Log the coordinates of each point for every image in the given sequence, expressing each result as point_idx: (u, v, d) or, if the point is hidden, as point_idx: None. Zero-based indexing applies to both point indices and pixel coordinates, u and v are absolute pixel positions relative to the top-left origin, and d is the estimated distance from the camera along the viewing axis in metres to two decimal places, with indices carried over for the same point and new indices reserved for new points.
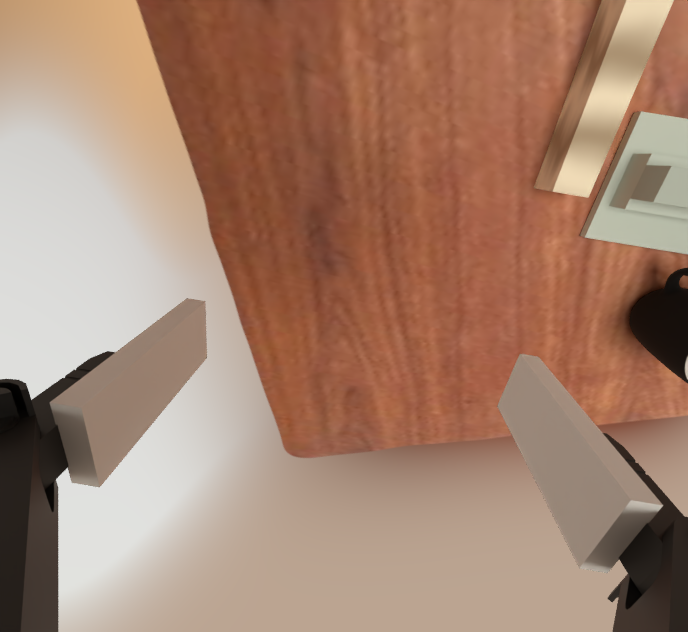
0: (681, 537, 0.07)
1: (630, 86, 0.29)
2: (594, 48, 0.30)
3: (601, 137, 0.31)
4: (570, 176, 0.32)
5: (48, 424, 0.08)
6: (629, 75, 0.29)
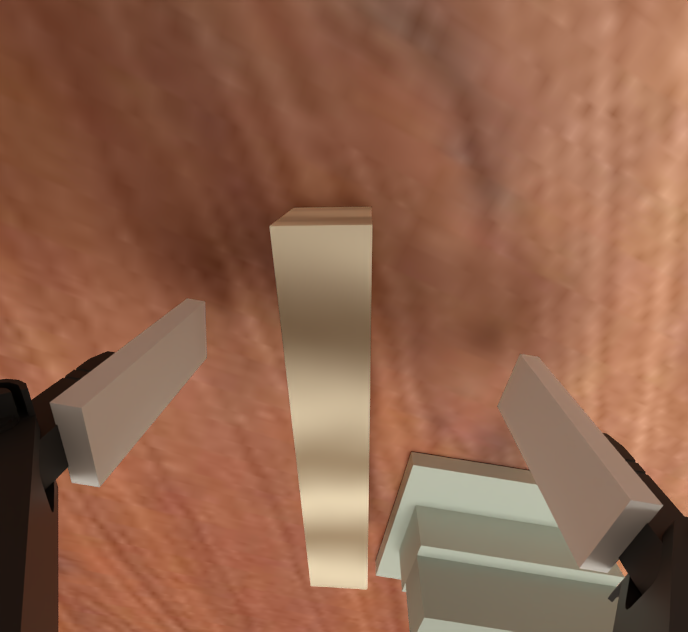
0: (681, 537, 0.07)
1: (359, 489, 0.17)
2: None
3: (348, 537, 0.19)
4: (327, 572, 0.20)
5: (48, 424, 0.08)
6: (349, 478, 0.17)
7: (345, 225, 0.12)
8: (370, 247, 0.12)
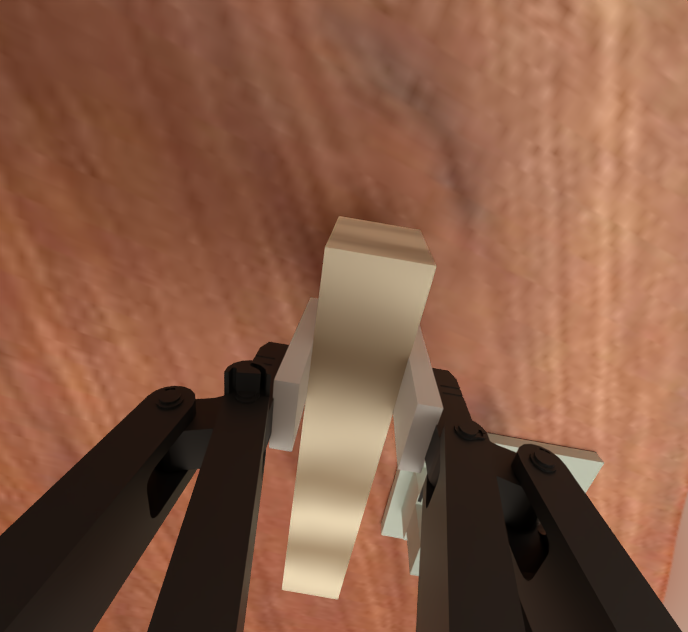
0: (449, 436, 0.09)
1: (353, 512, 0.17)
2: None
3: (330, 553, 0.19)
4: (302, 580, 0.20)
5: None
6: (346, 501, 0.16)
7: (407, 261, 0.11)
8: (428, 288, 0.11)
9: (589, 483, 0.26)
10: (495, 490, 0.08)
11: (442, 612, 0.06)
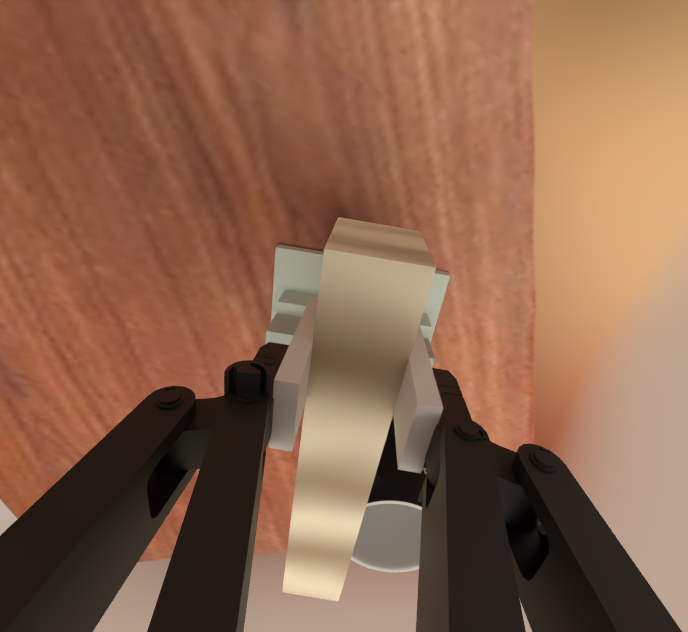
0: (449, 436, 0.09)
1: (353, 514, 0.17)
2: None
3: (331, 555, 0.19)
4: (302, 582, 0.20)
5: None
6: (346, 503, 0.16)
7: (407, 262, 0.11)
8: (428, 289, 0.11)
9: (441, 300, 0.28)
10: (495, 490, 0.08)
11: (442, 612, 0.06)
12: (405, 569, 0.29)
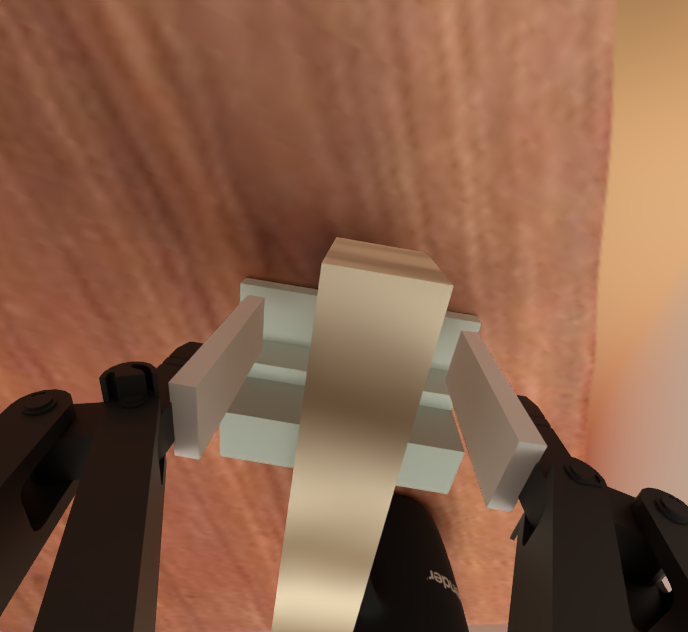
0: (559, 474, 0.08)
1: (352, 590, 0.14)
2: None
3: None
4: None
5: (164, 402, 0.09)
6: (344, 576, 0.13)
7: (419, 279, 0.09)
8: (443, 312, 0.09)
9: None
10: (613, 545, 0.07)
11: None
12: None
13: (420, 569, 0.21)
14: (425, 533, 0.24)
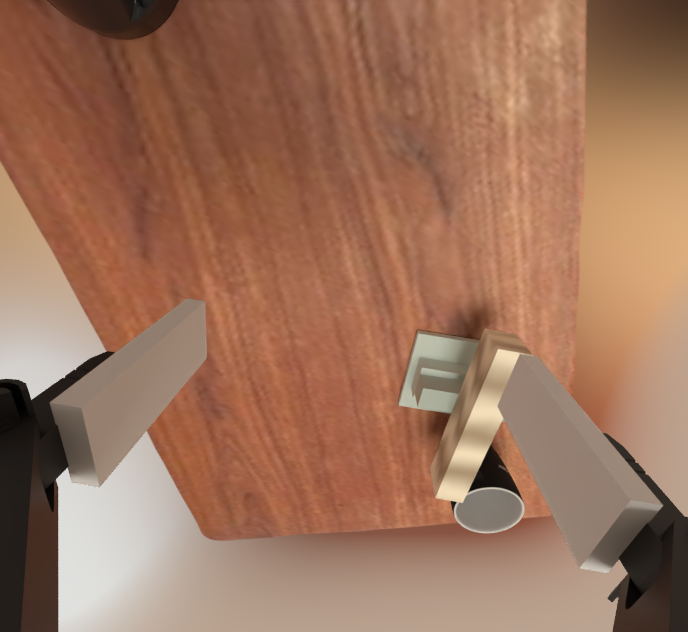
0: (681, 537, 0.07)
1: (483, 450, 0.39)
2: (460, 413, 0.40)
3: (466, 473, 0.41)
4: (447, 491, 0.42)
5: (48, 424, 0.08)
6: (481, 445, 0.39)
7: (523, 353, 0.34)
8: None
9: None
10: None
11: None
12: (494, 531, 0.46)
13: (494, 463, 0.46)
14: (493, 451, 0.49)
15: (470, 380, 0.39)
